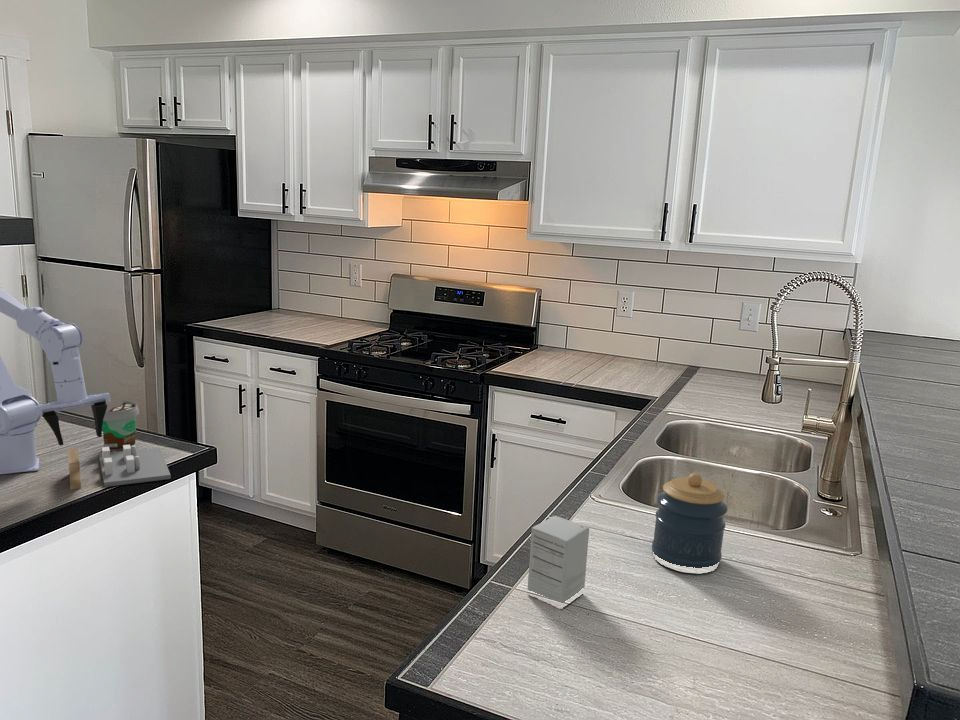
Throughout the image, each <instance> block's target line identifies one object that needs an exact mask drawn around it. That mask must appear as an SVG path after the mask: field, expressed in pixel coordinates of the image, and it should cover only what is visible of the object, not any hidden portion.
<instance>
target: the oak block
mask: <svg viewBox="0 0 960 720" xmlns="http://www.w3.org/2000/svg"><path fill="white" fill-rule="evenodd" d="M67 456H68V458H67V459H68V470H69V472H68V473H69V486H70V489H69V490H78V489H82V483H81V469H80V467H81V465H80V454H79V448H77V447H76V448H68V449H67Z"/></svg>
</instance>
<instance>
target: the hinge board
mask: <svg viewBox="0 0 960 720" xmlns="http://www.w3.org/2000/svg"><path fill="white" fill-rule="evenodd" d="M98 458H99V463H100V465H99V466H100V470H101V475H102V476H101V477H102V481H103V486H104V488H106V487H114V486H115V487H116V486H124V485H130V484H141V483H147V482H157V481H163V480H171V478H172V477H171V475H172V474H171V473H170V470H169V467H168V465H167V463H166V460H165V458H164V455H163V452H162V450H161V448H160V447H151V448H142V449H141V448H139V449H137V446H136V444H134V445H133V446H130V445H123V449H122V451H112V452H111V450H110V449H109V447H103V446H102V447H101V452H100V453H98Z"/></svg>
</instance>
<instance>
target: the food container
mask: <svg viewBox="0 0 960 720" xmlns="http://www.w3.org/2000/svg"><path fill="white" fill-rule="evenodd" d="M139 414H140V410H139V406H138V405H137V402H134V401H132V400H126V399H125V400H123V399H122V404H120V405H118V406H115V407H112V408H111V409H110V410H109V411H106V412H105V415H104V419H103V424H102V437H103V446H104V447H109V449H110V451H117V450H118V451H119V450H123V445H130V446H133V445H136V435H137V433H136V432H137V416H138V415H139Z"/></svg>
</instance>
